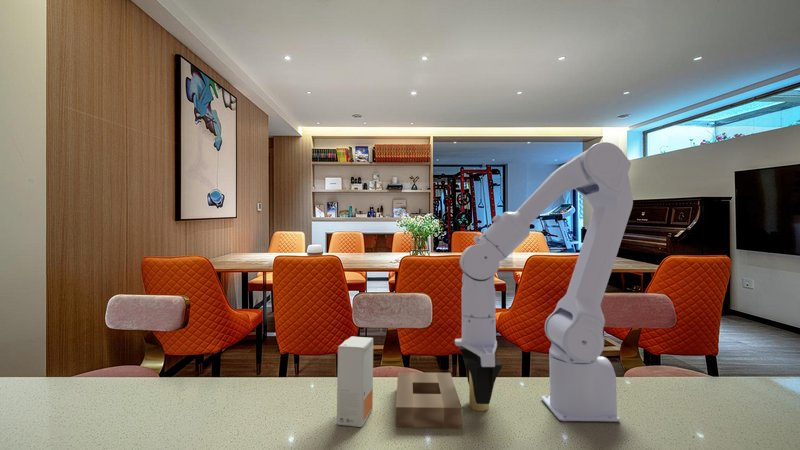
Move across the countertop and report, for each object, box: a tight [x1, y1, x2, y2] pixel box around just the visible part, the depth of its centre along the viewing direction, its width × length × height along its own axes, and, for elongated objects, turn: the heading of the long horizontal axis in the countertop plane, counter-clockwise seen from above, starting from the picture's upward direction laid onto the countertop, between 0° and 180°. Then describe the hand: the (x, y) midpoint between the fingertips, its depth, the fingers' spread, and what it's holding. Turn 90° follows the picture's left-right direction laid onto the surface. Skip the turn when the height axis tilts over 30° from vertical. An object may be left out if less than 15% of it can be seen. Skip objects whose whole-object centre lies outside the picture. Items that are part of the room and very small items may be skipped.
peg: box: [468, 371, 490, 412], centre depth 60 cm, size 3×3×7 cm
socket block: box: [395, 371, 463, 429], centre depth 60 cm, size 10×14×3 cm
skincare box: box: [336, 335, 374, 428], centre depth 57 cm, size 6×4×12 cm
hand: (478, 395), depth 60 cm, fingers open, 5 cm apart
